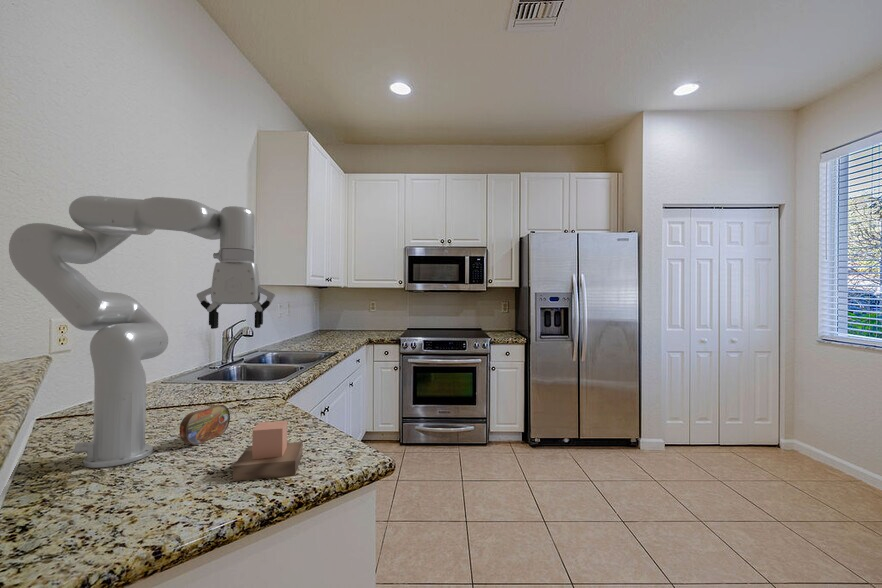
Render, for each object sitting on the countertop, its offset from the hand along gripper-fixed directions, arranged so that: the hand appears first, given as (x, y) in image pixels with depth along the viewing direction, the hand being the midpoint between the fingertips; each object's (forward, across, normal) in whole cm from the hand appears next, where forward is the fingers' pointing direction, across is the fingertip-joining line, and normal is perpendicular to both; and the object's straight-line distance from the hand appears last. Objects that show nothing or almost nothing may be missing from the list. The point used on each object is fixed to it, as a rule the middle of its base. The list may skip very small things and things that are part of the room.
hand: (236, 328), depth 95 cm
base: (+30, +10, -10) cm, 33 cm away
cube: (+27, +10, -10) cm, 31 cm away
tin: (+31, -11, +14) cm, 35 cm away
